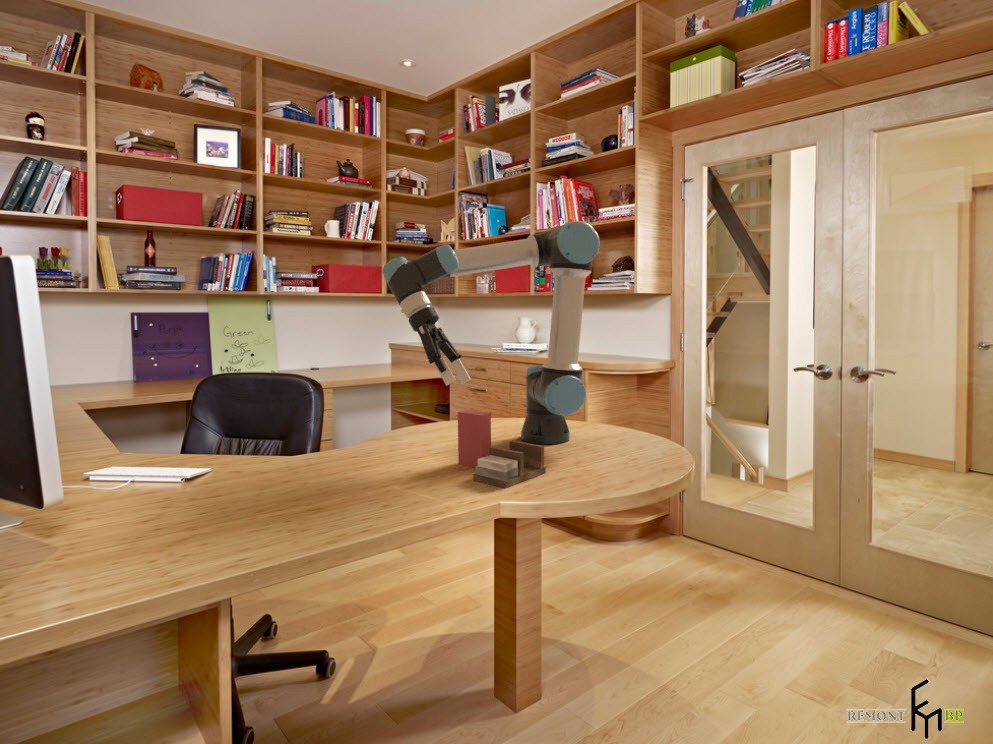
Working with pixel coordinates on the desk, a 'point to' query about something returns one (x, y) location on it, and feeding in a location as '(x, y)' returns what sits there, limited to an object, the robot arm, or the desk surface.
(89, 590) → the desk surface
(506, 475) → the book stand
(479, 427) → the book
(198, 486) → the desk surface
